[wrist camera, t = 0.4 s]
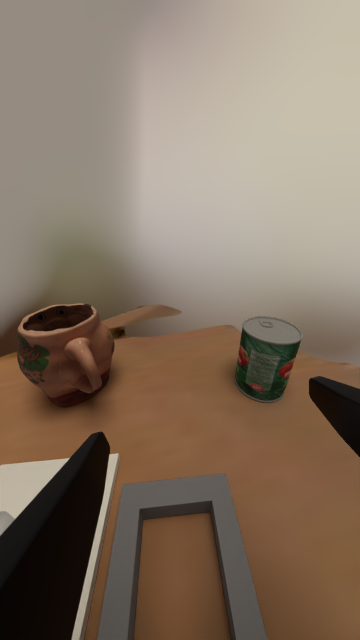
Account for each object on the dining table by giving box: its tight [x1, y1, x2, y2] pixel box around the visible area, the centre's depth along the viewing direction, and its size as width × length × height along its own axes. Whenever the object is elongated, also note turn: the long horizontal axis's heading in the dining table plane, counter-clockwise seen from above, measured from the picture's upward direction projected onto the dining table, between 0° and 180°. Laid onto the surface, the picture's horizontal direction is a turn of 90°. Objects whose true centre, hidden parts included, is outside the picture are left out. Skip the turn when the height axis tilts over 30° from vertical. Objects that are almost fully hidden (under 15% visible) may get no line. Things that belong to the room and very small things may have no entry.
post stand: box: [0, 454, 120, 640], centre depth 14 cm, size 13×13×6 cm
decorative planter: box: [17, 304, 114, 407], centre depth 28 cm, size 20×12×14 cm, turn 51°
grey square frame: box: [97, 474, 267, 640], centre depth 13 cm, size 10×10×2 cm
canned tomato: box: [235, 316, 303, 403], centre depth 28 cm, size 8×8×11 cm
